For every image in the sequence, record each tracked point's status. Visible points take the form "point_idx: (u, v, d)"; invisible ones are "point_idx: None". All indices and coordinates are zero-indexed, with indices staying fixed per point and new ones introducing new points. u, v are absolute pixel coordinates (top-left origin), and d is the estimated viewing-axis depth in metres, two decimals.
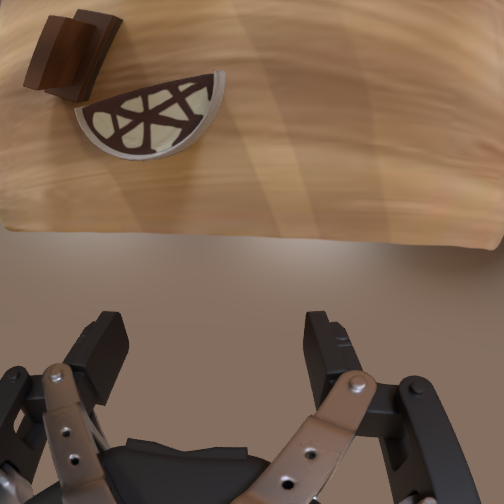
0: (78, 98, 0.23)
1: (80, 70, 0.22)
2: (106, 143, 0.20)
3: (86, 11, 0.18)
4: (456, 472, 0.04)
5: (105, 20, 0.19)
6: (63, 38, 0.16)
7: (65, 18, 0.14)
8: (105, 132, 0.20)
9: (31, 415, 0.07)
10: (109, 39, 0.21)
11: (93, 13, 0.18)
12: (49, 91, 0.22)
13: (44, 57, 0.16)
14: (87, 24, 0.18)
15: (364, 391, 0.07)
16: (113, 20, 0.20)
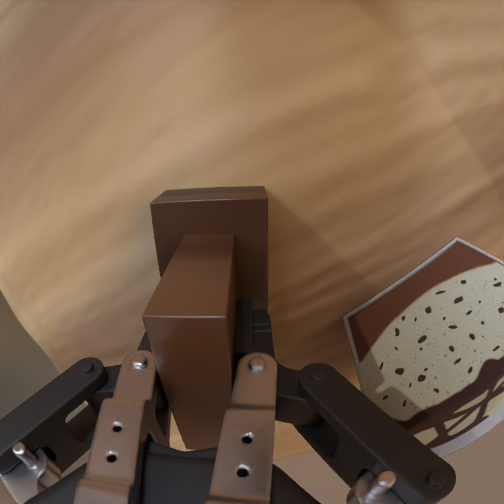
0: None
1: None
2: None
3: (180, 204, 0.12)
4: (398, 440, 0.05)
5: (253, 215, 0.12)
6: (232, 345, 0.09)
7: (224, 318, 0.07)
8: (423, 442, 0.10)
9: (95, 409, 0.08)
10: None
11: (205, 205, 0.12)
12: None
13: (218, 412, 0.09)
14: (233, 253, 0.11)
15: (261, 372, 0.08)
16: None
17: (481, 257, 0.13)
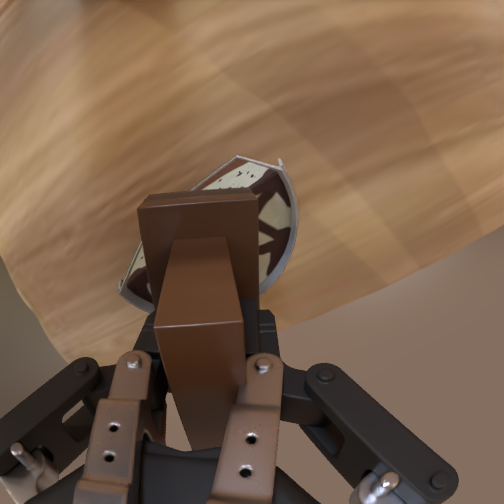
0: None
1: None
2: None
3: (169, 208, 0.12)
4: (402, 441, 0.05)
5: (243, 217, 0.12)
6: None
7: (240, 322, 0.07)
8: None
9: (90, 409, 0.08)
10: None
11: (195, 208, 0.12)
12: None
13: None
14: (229, 256, 0.11)
15: (268, 372, 0.08)
16: None
17: (241, 162, 0.21)
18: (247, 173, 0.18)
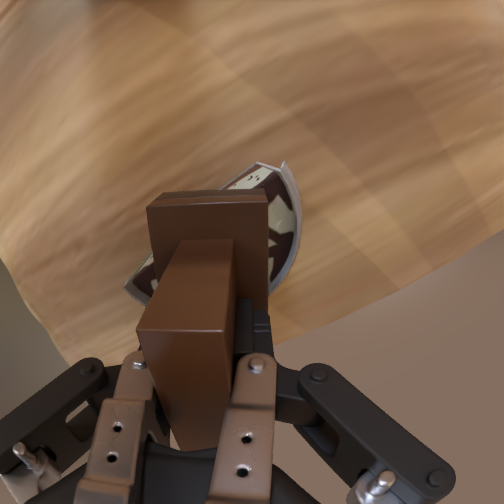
0: None
1: None
2: None
3: (177, 207, 0.12)
4: (398, 440, 0.05)
5: (253, 219, 0.12)
6: (231, 357, 0.08)
7: (222, 332, 0.07)
8: None
9: (95, 409, 0.08)
10: None
11: (203, 208, 0.12)
12: None
13: (216, 425, 0.08)
14: (232, 260, 0.10)
15: (261, 372, 0.08)
16: None
17: (257, 167, 0.21)
18: (256, 177, 0.18)
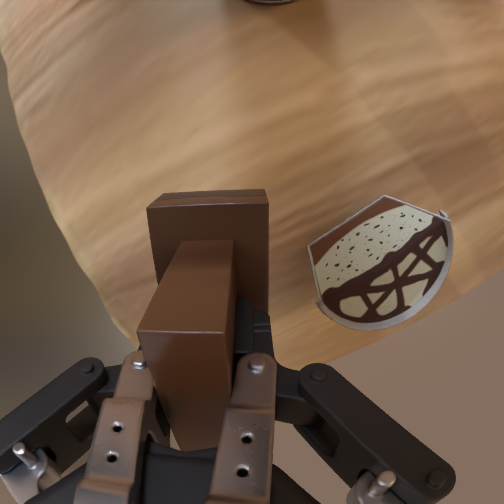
0: None
1: None
2: (361, 321, 0.21)
3: (178, 208, 0.12)
4: (398, 440, 0.05)
5: (253, 220, 0.12)
6: (231, 358, 0.08)
7: (223, 334, 0.07)
8: (358, 312, 0.21)
9: (95, 409, 0.08)
10: None
11: (204, 209, 0.12)
12: None
13: (217, 426, 0.08)
14: (232, 261, 0.10)
15: (261, 372, 0.08)
16: None
17: (396, 203, 0.24)
18: (412, 216, 0.21)
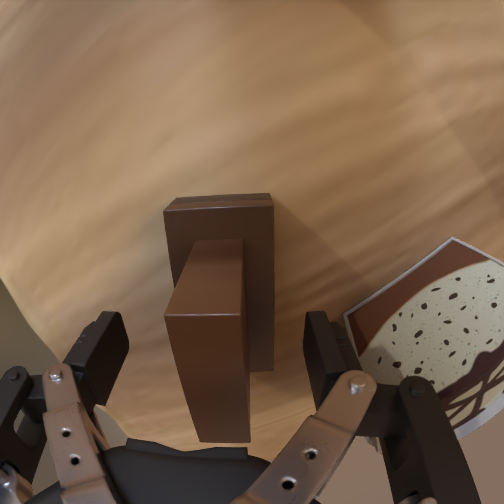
0: None
1: (257, 328, 0.15)
2: None
3: (192, 211, 0.13)
4: (456, 472, 0.04)
5: (260, 221, 0.13)
6: (244, 341, 0.10)
7: None
8: None
9: (31, 415, 0.07)
10: None
11: (216, 212, 0.13)
12: None
13: (231, 404, 0.09)
14: (243, 257, 0.12)
15: (364, 391, 0.07)
16: None
17: (475, 255, 0.14)
18: None
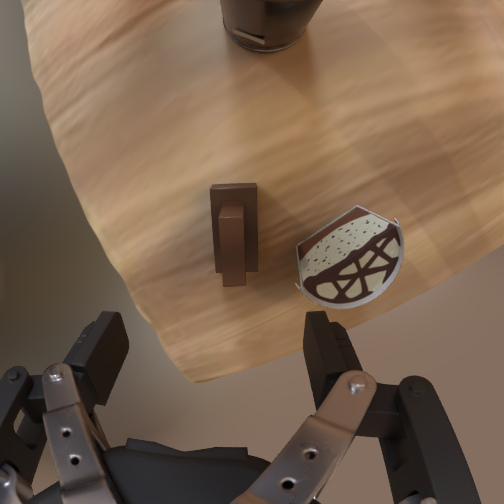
0: None
1: (250, 245, 0.34)
2: (334, 302, 0.29)
3: (222, 189, 0.31)
4: (456, 472, 0.04)
5: (251, 194, 0.31)
6: None
7: (242, 217, 0.26)
8: (330, 295, 0.29)
9: (31, 415, 0.07)
10: None
11: (232, 190, 0.31)
12: (222, 270, 0.35)
13: (238, 258, 0.28)
14: (243, 206, 0.30)
15: (364, 391, 0.07)
16: None
17: (364, 212, 0.32)
18: (374, 223, 0.29)
